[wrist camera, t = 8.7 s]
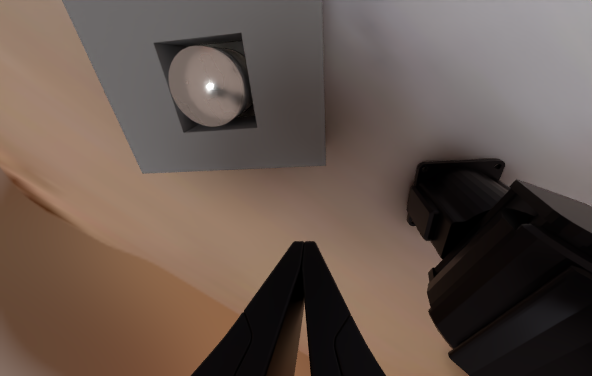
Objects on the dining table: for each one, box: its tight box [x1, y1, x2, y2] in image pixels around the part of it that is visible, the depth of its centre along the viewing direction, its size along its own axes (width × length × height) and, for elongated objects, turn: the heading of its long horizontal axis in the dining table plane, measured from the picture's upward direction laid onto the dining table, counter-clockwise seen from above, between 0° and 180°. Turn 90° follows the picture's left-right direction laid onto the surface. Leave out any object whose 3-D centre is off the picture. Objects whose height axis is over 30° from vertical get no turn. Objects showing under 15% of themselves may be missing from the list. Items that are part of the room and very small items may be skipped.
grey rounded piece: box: [168, 46, 253, 127], centre depth 15 cm, size 4×4×4 cm
